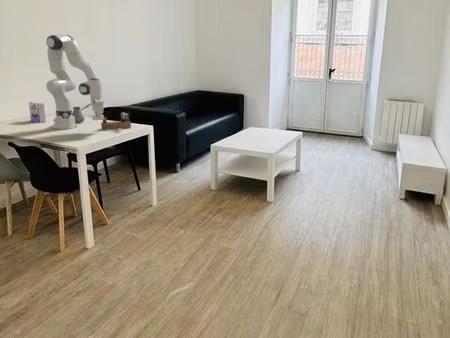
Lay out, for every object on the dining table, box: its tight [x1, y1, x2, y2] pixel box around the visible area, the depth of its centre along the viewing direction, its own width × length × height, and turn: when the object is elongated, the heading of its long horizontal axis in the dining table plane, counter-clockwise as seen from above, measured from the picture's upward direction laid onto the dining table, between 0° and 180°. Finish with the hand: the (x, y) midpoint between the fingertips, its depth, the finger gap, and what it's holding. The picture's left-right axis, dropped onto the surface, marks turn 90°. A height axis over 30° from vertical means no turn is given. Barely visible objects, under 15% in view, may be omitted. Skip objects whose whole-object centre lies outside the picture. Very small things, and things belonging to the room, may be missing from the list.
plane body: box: [100, 113, 132, 131], centre depth 330 cm, size 7×22×11 cm, turn 120°
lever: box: [120, 111, 128, 122], centre depth 327 cm, size 3×12×8 cm, turn 28°
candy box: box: [28, 100, 47, 124], centre depth 348 cm, size 14×6×16 cm, turn 55°
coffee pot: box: [72, 102, 92, 124], centre depth 352 cm, size 21×12×15 cm, turn 138°
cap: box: [91, 114, 105, 121], centre depth 313 cm, size 4×8×4 cm, turn 120°
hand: (98, 118), depth 314 cm, fingers closed on cap, 4 cm apart
